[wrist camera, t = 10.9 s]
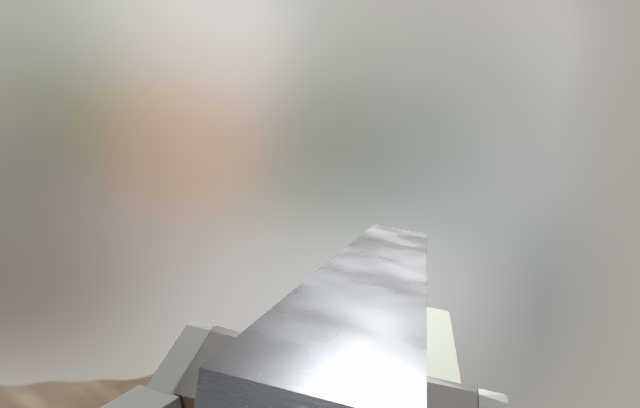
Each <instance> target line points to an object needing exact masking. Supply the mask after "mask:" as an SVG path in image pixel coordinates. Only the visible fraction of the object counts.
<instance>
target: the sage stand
mask: <svg viewBox="0 0 640 408" xmlns="http://www.w3.org/2000/svg"><path fill="white" fill-rule="evenodd" d="M427 376H429V377H433V378H438V379H442V380H447V381H451V382H456V383H460V384H461V380H460V374H459V368H458V362H457V357H456V351H455V345H454V339H453V333H452V327H451V321H450V316H449V311H444V310H439V309H435V308H430V307H427Z"/></svg>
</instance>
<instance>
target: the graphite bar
mask: <svg viewBox="0 0 640 408" xmlns="http://www.w3.org/2000/svg"><path fill="white" fill-rule="evenodd" d="M194 408H427V234H425V233H419V232H413V231H408V230H402V229H397V228H391V227H386V226H380V225H373V226H372V227H370V228H369V229H368V230H367V231H365V232H364V233H363V234H362V235H360V236H359V237H358V238H357V239H356V240H354V241H353V242H352V243H351V244H350V245H348V246H347V247H346V248H345V249H343V250H342V251H341V252H340V253H338V255H336V256H335V257H334V258H332V259H331V260H330V261H329V262H328V263H326V264H325V265H324V266H323V267H322V268H320V269H319V270H318V271H316V272H315V273H314V274H313V275H312V276H310V277H309V278H308V279H307V280H305V281H304V282H303V283H302V284H301V285H299V286H298V287H297V288H296V289H294V290H293V291H292V292H291V293H290V294H288V295H287V296H286V297H285V298H283V299H282V300H281V301H280V302H278V303H277V304H276V305H275V306H274V307H272V308H271V309H270V310H269V311H267V312H266V313H265V314H264V315H263V316H261V317H260V318H259V319H258V320H257V321H255V322H254V323H253V324H252V325H250V326H249V327H248V328H247V329H245V330H244V331H243V332H242V333H241V334H239V335H238V336H237V337H236V338H234V339H233V340H232V341H231V342H230V343H228V344H227V345H226V346H225V347H223V348H222V349H221V350H220V351H219V352H217V353H216V354H215V355H214V356H212V357H211V358H210V359H209V360H208V361H206V362H205V363H204V364H203V365H201V366H200V367H199V374H198V381H197V388H196V395H195V402H194Z"/></svg>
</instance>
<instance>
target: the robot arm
mask: <svg viewBox="0 0 640 408" xmlns="http://www.w3.org/2000/svg"><path fill="white" fill-rule="evenodd" d="M239 334H241V332H238V331H234V330H230V329H226V328H222V327H219V326H215V325H211V324H207V323H203V322H199V321H195V320H193V321H192V322H191V323H190V324H188V325H187V326H186V327H185V329H184V330H183V332H182V333H181V335H180V336H179V338H178V339H177V341H176V342H175V344H174V345H173V347H172V348H171V350H170V351H169V353H168V354H167V356H166V357H165V359H164V360H163V362H162V363H161V365H160V366H159V368H158V369H157V371H156V372H155V374H154V375H153V377H152V378H151V380H150V381H149V383H148V384H147V386H146V387H144V386H140V385H138V386H137V387H135V388H133V389H132V390H130V391H128V392H126V393H125V394H123V395H121V396H120V397H118V398H116V399H114V400H113V401H111V402H109V403H108V404H106V405H104V406H102V407H101V408H194V402H195V395H196V388H197V381H198V374H199V367H200V366H201V365H203V364H204V363H205V362H206V361H208V360H209V359H210V358H211V357H212V356H214V355H215V354H216V353H217V352H219V351H220V350H221V349H222V348H223V347H225V346H226V345H227V344H228V343H230V342H231V341H232V340H233V339H234V338H236V337H237V336H238V335H239ZM427 408H509V400H508V398H507V396H506V395H505V394H501V393H496V392H492V391H488V390H483V389H479V388H476V387H473V386H469V385H465V384H460V383H456V382H451V381H447V380H442V379H438V378H433V377H429V376H427Z"/></svg>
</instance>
